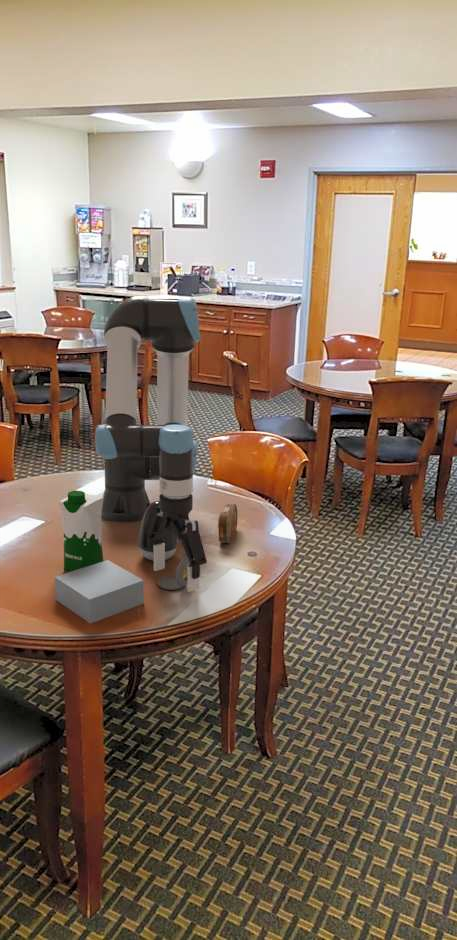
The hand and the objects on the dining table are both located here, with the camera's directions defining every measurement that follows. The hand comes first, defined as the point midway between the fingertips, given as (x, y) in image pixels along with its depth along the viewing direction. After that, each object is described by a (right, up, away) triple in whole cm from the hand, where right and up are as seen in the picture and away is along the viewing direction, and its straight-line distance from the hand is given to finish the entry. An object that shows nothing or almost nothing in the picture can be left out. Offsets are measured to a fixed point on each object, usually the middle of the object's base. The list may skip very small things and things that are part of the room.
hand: (175, 579), depth 170 cm
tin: (+12, +7, +30) cm, 33 cm away
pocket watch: (0, -2, +1) cm, 2 cm away
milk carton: (-23, +1, +9) cm, 25 cm away
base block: (-17, -4, -7) cm, 19 cm away
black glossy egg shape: (-6, +3, +16) cm, 17 cm away
